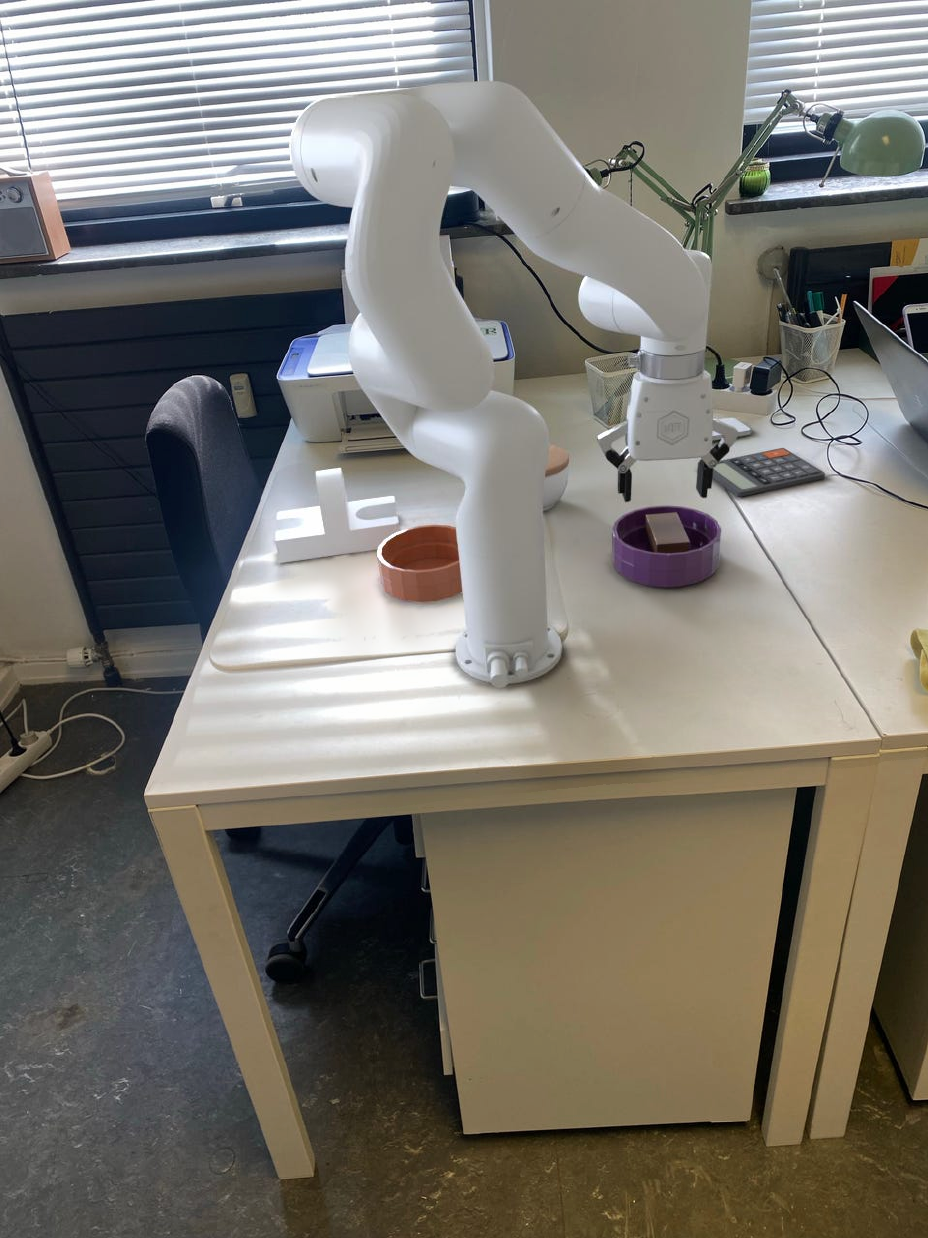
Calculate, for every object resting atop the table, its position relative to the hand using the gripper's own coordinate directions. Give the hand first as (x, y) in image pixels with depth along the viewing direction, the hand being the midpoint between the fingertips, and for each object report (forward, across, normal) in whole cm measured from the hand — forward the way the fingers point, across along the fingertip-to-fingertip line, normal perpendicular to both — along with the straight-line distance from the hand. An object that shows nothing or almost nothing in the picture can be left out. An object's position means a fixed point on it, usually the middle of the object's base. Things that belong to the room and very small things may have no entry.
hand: (663, 495), depth 116 cm
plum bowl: (+10, +1, +1) cm, 10 cm away
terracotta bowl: (+11, -31, +1) cm, 33 cm away
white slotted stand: (+11, -45, +15) cm, 49 cm away
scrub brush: (+10, +1, +1) cm, 10 cm away
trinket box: (+10, -15, +22) cm, 29 cm away
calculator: (+9, +21, +26) cm, 35 cm away
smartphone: (+9, +16, +44) cm, 48 cm away
